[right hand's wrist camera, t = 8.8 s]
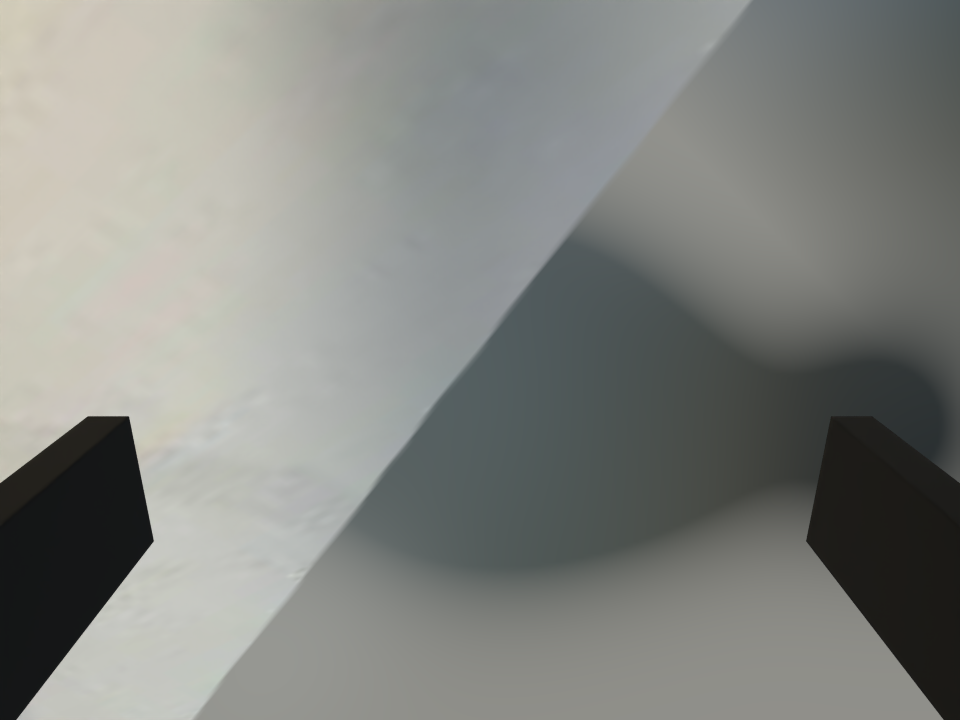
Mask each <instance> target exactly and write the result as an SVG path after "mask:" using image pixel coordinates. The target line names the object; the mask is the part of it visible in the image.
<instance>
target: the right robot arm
mask: <svg viewBox="0 0 960 720" xmlns="http://www.w3.org/2000/svg"><path fill="white" fill-rule="evenodd" d="M153 542H154V540H153V535H152V530H151V525H150V520H149V515H148V510H147V505H146V500H145V495H144V490H143V485H142V480H141V475H140V470H139V465H138V460H137V455H136V450H135V444H134V439H133V434H132V429H131V424H130V419H129V416H88V417H87V418H85V419H84V420H83V421H81V422H80V423H79V424H77V425H76V426H75V427H73V428H72V429H71V430H69V431H68V432H67V433H66V434H64V435H63V436H62V437H60V438H59V439H58V440H56V441H55V442H54V443H52V444H51V445H50V446H48V447H47V448H46V449H45V450H43V451H42V452H41V453H39V454H38V455H37V456H35V457H34V458H33V459H31V460H30V461H29V462H28V463H26V464H25V465H24V466H22V467H21V468H20V469H18V470H17V471H16V472H14V473H13V474H12V475H10V476H9V477H8V478H7V479H5V480H4V481H3V482H1V483H0V720H16V719H17V718H18V717H19V716H20V714H21V713H22V712H23V710H24V709H25V708H26V706H27V705H28V704H29V703H30V701H31V700H32V699H33V697H34V696H35V695H36V693H37V692H38V691H39V690H40V688H41V687H42V686H43V684H44V683H45V682H46V680H47V679H48V678H49V677H50V675H51V674H52V673H53V671H54V670H55V669H56V668H57V666H58V665H59V664H60V662H61V661H62V660H63V658H64V657H65V656H66V655H67V653H68V652H69V651H70V649H71V648H72V647H73V645H74V644H75V643H76V642H77V640H78V639H79V638H80V636H81V635H82V634H83V632H84V631H85V630H86V629H87V627H88V626H89V625H90V623H91V622H92V621H93V619H94V618H95V617H96V616H97V614H98V613H99V612H100V610H101V609H102V608H103V606H104V605H105V604H106V603H107V601H108V600H109V599H110V597H111V596H112V595H113V593H114V592H115V591H116V590H117V588H118V587H119V586H120V584H121V583H122V582H123V580H124V579H125V578H126V577H127V575H128V574H129V573H130V571H131V570H132V569H133V568H134V566H135V565H136V564H137V562H138V561H139V560H140V558H141V557H142V556H143V555H144V553H145V552H146V551H147V549H148V548H149V547H150V545H151V544H152V543H153ZM806 542H807V543H808V544H809V545H810V547H811V548H812V549H813V551H814V552H815V553H816V555H817V556H818V557H819V558H820V560H821V561H822V562H823V564H824V565H825V566H826V568H827V569H828V570H829V571H830V573H831V574H832V575H833V577H834V578H835V579H836V580H837V582H838V583H839V584H840V586H841V587H842V588H843V589H844V591H845V592H846V593H847V595H848V596H849V597H850V599H851V600H852V601H853V603H854V604H855V605H856V606H857V608H858V609H859V610H860V612H861V613H862V614H863V616H864V617H865V618H866V619H867V621H868V622H869V623H870V625H871V626H872V627H873V628H874V630H875V631H876V632H877V634H878V635H879V636H880V638H881V639H882V640H883V641H884V643H885V644H886V645H887V647H888V648H889V649H890V651H891V652H892V653H893V654H894V656H895V657H896V658H897V660H898V661H899V662H900V664H901V665H902V666H903V668H904V669H905V670H906V671H907V673H908V674H909V675H910V677H911V678H912V679H913V680H914V682H915V683H916V684H917V686H918V687H919V688H920V690H921V691H922V692H923V693H924V695H925V696H926V697H927V699H928V700H929V701H930V703H931V704H932V705H933V706H934V708H935V709H936V710H937V712H938V713H939V714H940V715H941V717H942V718H943V719H944V720H960V483H959V482H957V481H956V480H955V479H953V478H952V477H951V476H949V475H948V474H947V473H946V472H944V471H943V470H942V469H940V468H939V467H938V466H936V465H935V464H934V463H932V462H931V461H930V460H929V459H927V458H926V457H925V456H923V455H922V454H921V453H919V452H918V451H917V450H915V449H914V448H913V447H912V446H910V445H909V444H908V443H906V442H905V441H904V440H902V439H901V438H900V437H898V436H897V435H896V434H894V433H893V432H892V431H891V430H889V429H888V428H887V427H885V426H884V425H883V424H881V423H880V422H879V421H877V420H876V419H875V418H873V417H872V416H832V417H831V419H830V424H829V429H828V435H827V439H826V445H825V450H824V455H823V460H822V465H821V470H820V475H819V480H818V485H817V490H816V495H815V500H814V505H813V510H812V515H811V520H810V525H809V530H808V535H807V540H806Z"/></svg>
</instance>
